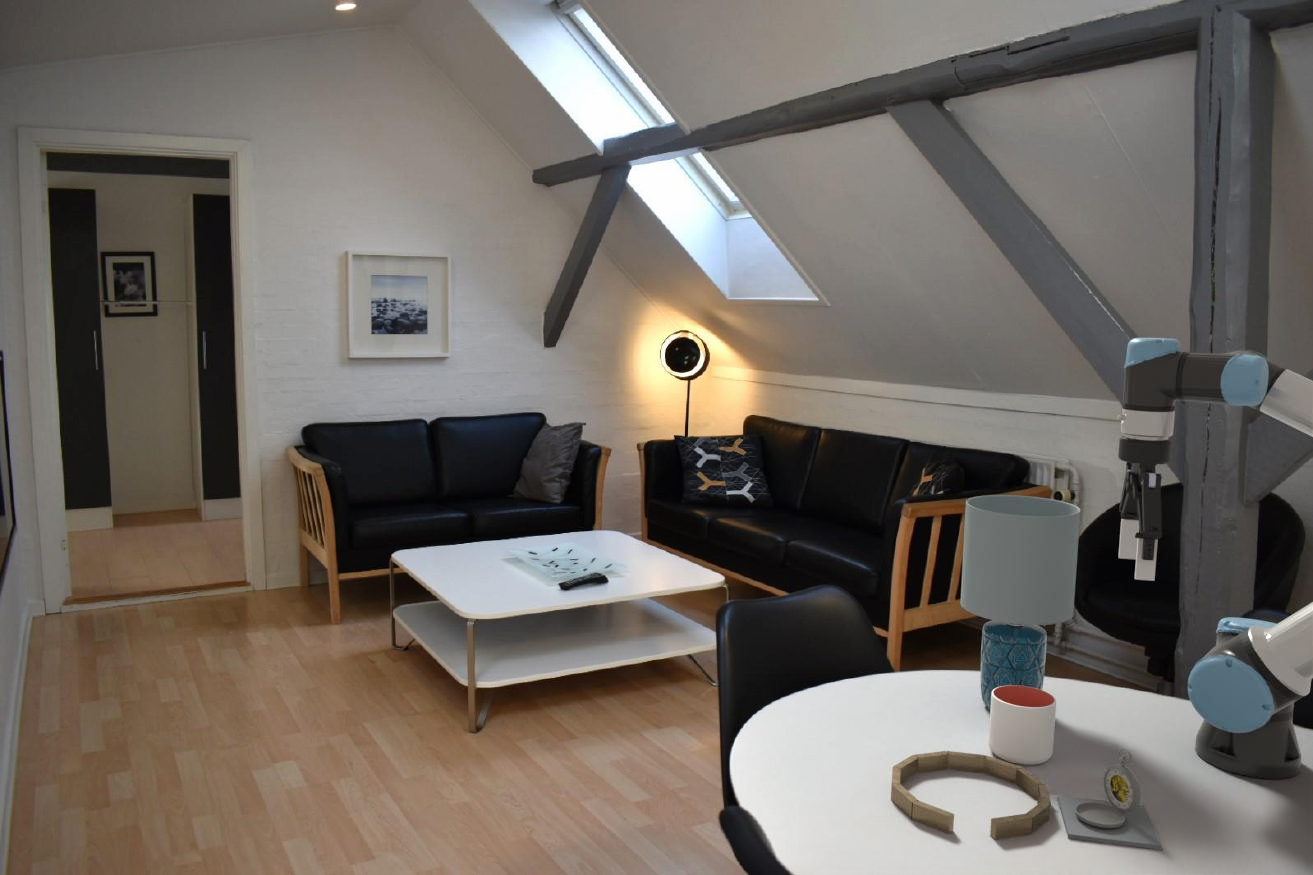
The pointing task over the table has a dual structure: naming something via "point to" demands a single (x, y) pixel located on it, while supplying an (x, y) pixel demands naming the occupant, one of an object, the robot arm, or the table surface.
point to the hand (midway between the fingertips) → (1135, 568)
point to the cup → (1022, 724)
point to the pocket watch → (1113, 797)
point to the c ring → (971, 763)
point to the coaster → (1130, 833)
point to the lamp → (1018, 581)
